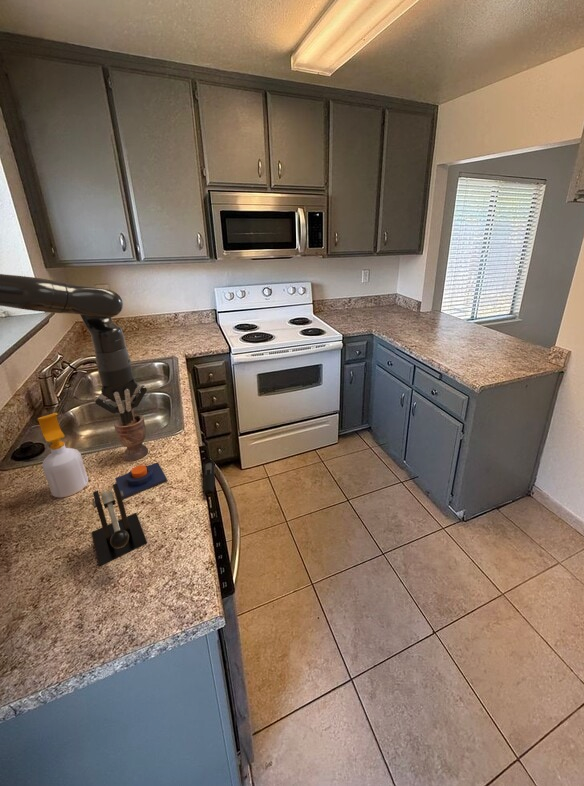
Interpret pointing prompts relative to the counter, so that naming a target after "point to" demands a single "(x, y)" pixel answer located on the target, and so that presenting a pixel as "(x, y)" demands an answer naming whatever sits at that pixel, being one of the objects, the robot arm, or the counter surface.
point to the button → (139, 471)
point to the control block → (141, 481)
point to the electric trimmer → (209, 476)
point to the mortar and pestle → (132, 436)
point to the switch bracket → (104, 534)
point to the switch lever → (114, 522)
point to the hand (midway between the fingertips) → (127, 422)
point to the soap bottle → (61, 461)
